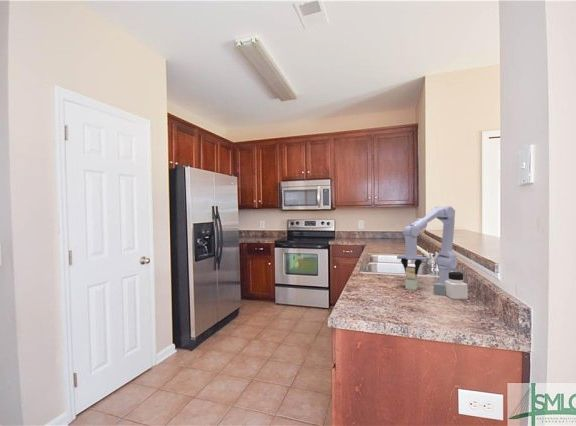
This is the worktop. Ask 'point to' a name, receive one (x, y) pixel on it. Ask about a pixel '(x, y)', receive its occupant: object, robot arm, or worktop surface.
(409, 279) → the sage block
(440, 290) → the slate block
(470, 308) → the worktop surface
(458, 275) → the medicine bottle
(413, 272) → the maple block
